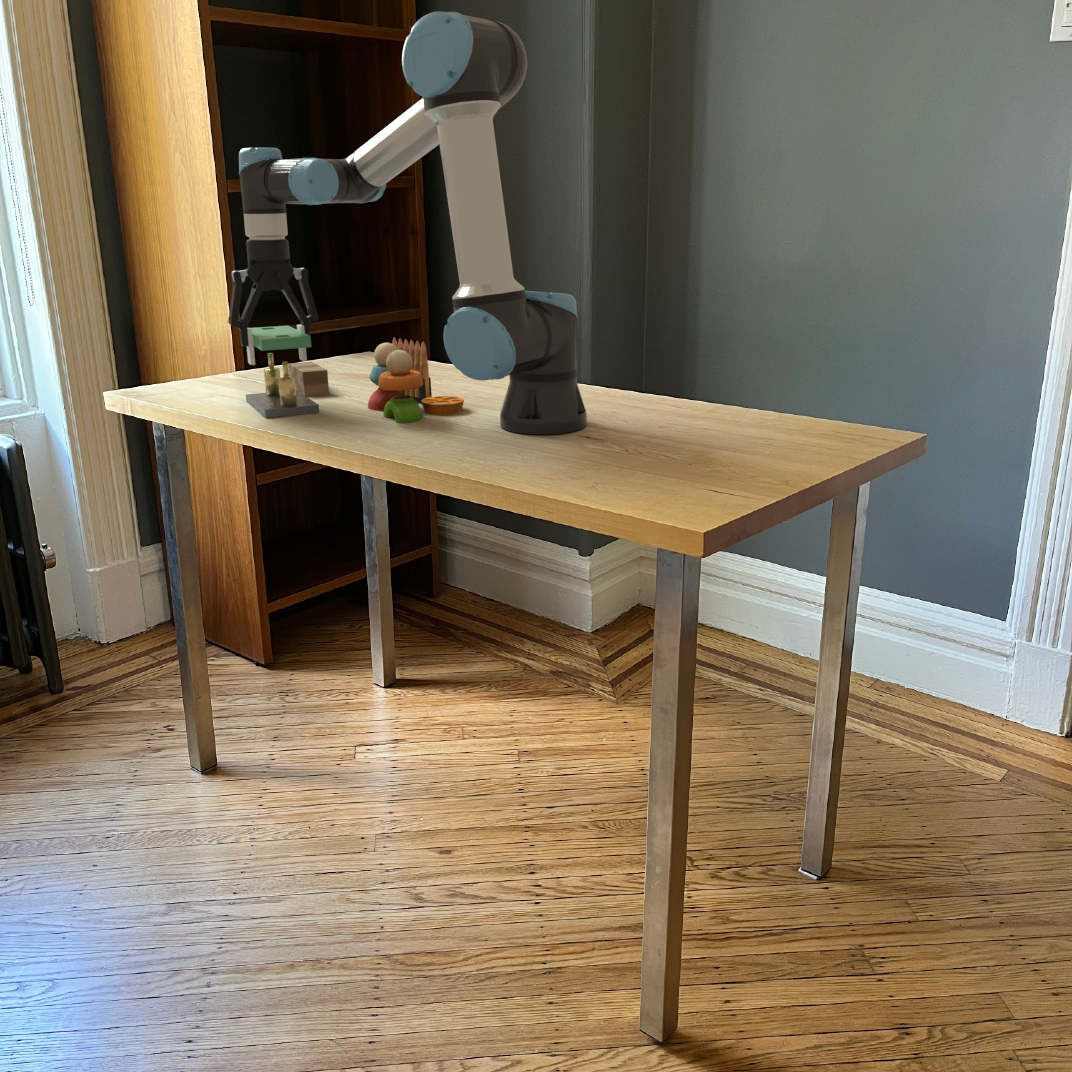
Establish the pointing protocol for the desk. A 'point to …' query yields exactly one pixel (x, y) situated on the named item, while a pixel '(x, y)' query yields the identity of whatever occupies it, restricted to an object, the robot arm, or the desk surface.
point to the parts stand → (309, 378)
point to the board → (279, 338)
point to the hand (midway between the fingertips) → (277, 361)
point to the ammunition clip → (417, 368)
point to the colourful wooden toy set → (403, 388)
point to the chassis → (280, 395)
